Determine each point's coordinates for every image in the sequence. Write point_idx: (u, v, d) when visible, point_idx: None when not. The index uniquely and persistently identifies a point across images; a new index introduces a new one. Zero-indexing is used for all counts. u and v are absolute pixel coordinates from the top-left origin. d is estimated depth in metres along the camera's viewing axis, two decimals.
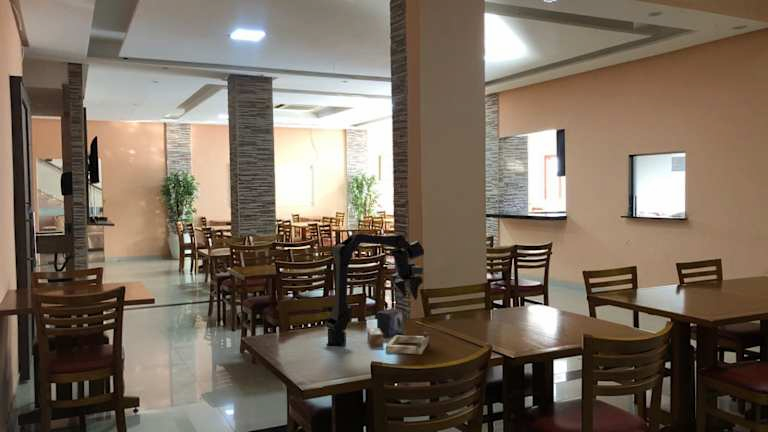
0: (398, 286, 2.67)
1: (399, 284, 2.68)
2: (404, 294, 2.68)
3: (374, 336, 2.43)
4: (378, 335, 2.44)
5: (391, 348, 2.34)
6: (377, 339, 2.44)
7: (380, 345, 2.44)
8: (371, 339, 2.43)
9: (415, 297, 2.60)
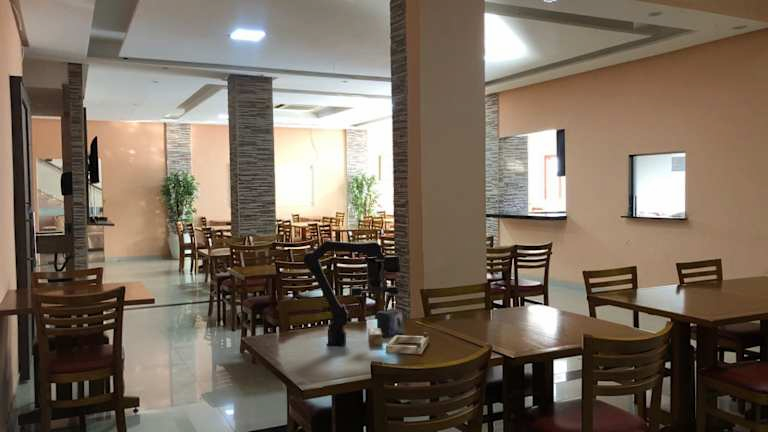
0: None
1: (386, 296, 2.51)
2: (385, 309, 2.50)
3: (373, 336, 2.43)
4: (377, 335, 2.43)
5: (391, 348, 2.34)
6: (376, 339, 2.43)
7: (379, 345, 2.44)
8: (370, 339, 2.43)
9: (362, 309, 2.48)
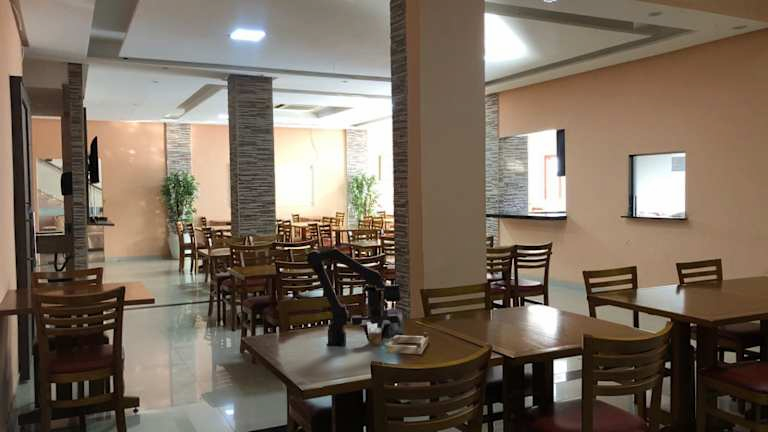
0: (382, 326, 2.52)
1: (382, 325, 2.51)
2: (381, 337, 2.50)
3: (372, 336, 2.43)
4: (376, 335, 2.43)
5: (391, 348, 2.34)
6: (375, 339, 2.43)
7: (378, 345, 2.44)
8: (369, 338, 2.43)
9: (367, 338, 2.49)
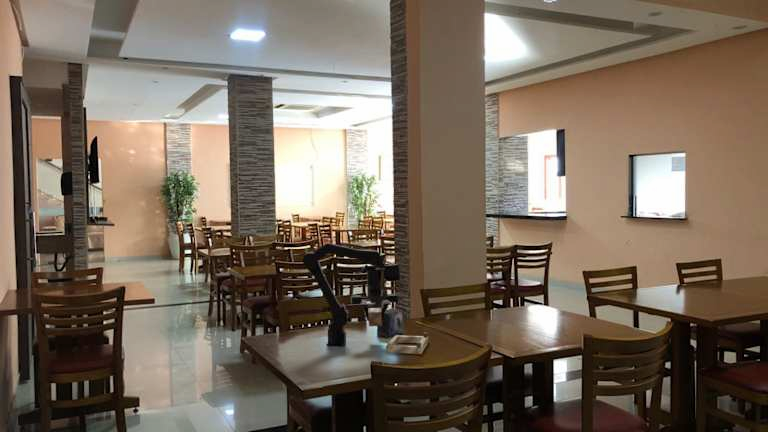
0: None
1: (382, 305, 2.51)
2: None
3: (372, 315, 2.43)
4: (376, 314, 2.43)
5: (391, 348, 2.34)
6: (375, 318, 2.43)
7: (378, 324, 2.43)
8: (369, 318, 2.43)
9: (367, 317, 2.49)
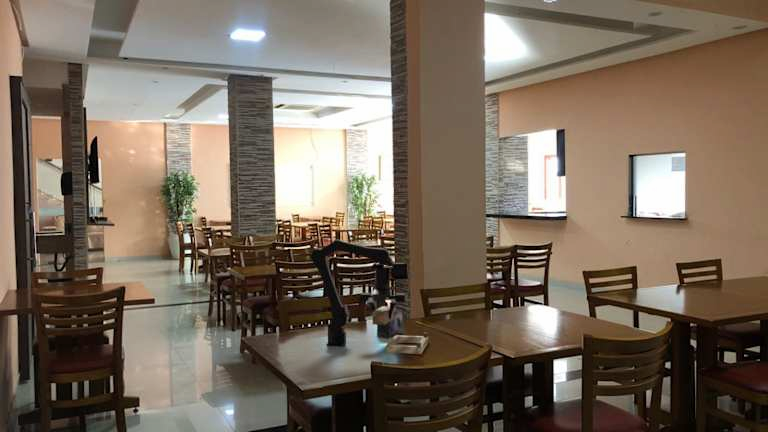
0: None
1: None
2: None
3: (376, 313, 2.42)
4: (380, 312, 2.41)
5: (391, 348, 2.34)
6: (379, 316, 2.41)
7: (382, 323, 2.41)
8: (373, 316, 2.42)
9: None
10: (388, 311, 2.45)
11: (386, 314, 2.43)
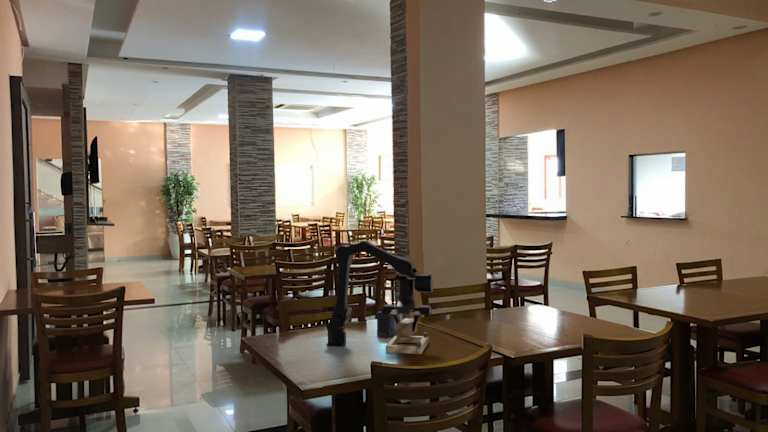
0: None
1: None
2: (413, 329, 2.41)
3: (400, 326, 2.36)
4: (404, 325, 2.36)
5: (391, 348, 2.34)
6: (403, 329, 2.36)
7: (406, 336, 2.35)
8: (397, 328, 2.36)
9: None
10: (412, 323, 2.40)
11: (410, 327, 2.37)
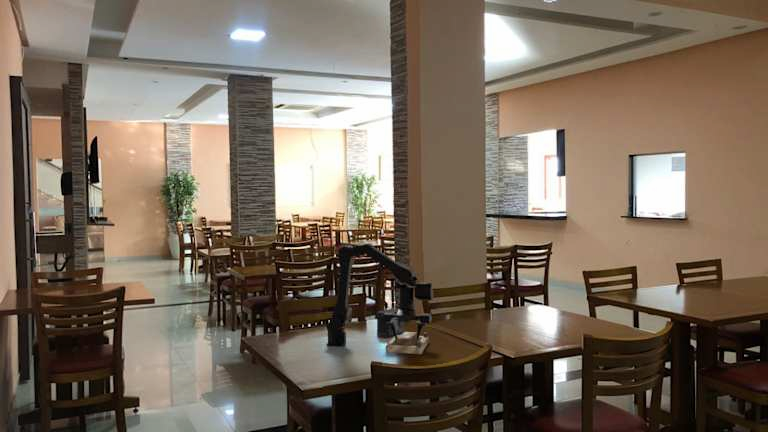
0: None
1: None
2: (417, 337, 2.41)
3: (401, 340, 2.36)
4: (405, 339, 2.36)
5: (391, 348, 2.34)
6: (404, 343, 2.36)
7: None
8: (398, 343, 2.36)
9: None
10: (412, 337, 2.40)
11: (411, 341, 2.37)
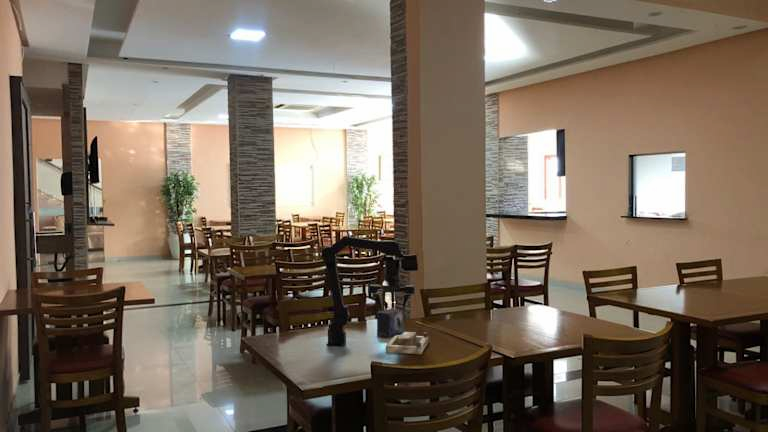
0: None
1: None
2: None
3: (401, 340, 2.36)
4: (405, 339, 2.36)
5: (391, 348, 2.34)
6: (404, 343, 2.36)
7: None
8: (398, 343, 2.36)
9: None
10: (412, 337, 2.40)
11: (411, 341, 2.37)
